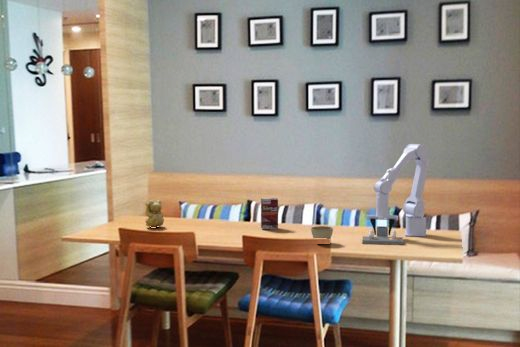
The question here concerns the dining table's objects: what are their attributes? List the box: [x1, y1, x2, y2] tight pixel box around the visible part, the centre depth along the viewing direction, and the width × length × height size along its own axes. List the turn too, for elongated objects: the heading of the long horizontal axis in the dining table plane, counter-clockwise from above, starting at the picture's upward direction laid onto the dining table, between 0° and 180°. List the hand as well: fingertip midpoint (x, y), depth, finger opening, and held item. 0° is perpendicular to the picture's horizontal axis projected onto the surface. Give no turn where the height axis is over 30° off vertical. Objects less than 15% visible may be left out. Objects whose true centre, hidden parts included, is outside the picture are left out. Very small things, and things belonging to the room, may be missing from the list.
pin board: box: [361, 229, 404, 246], centre depth 255 cm, size 18×9×6 cm, turn 79°
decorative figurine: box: [144, 199, 165, 228], centre depth 297 cm, size 10×8×15 cm
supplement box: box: [260, 197, 279, 231], centre depth 290 cm, size 9×5×16 cm, turn 97°
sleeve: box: [376, 225, 389, 237], centre depth 264 cm, size 5×5×5 cm
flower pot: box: [310, 225, 334, 240], centre depth 253 cm, size 10×10×7 cm
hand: (382, 234), depth 265 cm, fingers open, 6 cm apart
